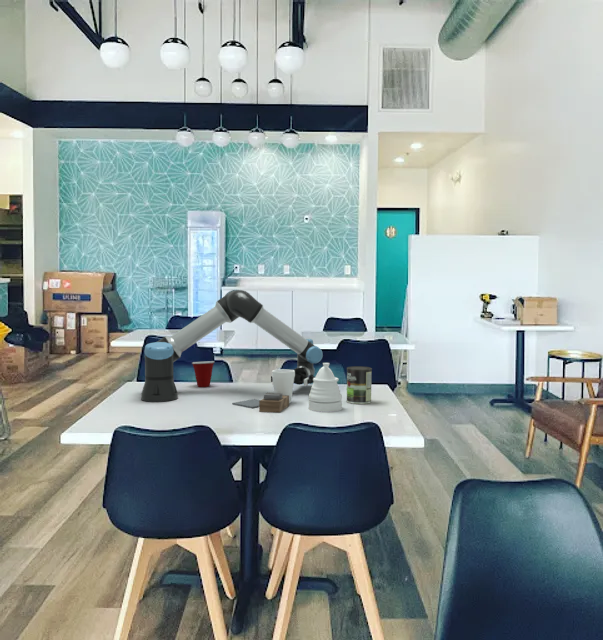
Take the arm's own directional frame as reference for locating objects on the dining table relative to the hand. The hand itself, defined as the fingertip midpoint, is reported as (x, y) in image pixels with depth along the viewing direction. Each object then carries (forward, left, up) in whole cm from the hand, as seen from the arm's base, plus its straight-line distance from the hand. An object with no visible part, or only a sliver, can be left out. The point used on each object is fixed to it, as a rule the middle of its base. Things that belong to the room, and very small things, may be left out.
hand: (288, 382), depth 258 cm
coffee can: (+15, -26, -7) cm, 31 cm away
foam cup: (-7, -4, -7) cm, 11 cm away
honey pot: (-5, -25, -7) cm, 26 cm away
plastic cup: (-4, +53, -7) cm, 54 cm away
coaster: (-18, +2, -7) cm, 20 cm away
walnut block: (-18, -10, -7) cm, 22 cm away
